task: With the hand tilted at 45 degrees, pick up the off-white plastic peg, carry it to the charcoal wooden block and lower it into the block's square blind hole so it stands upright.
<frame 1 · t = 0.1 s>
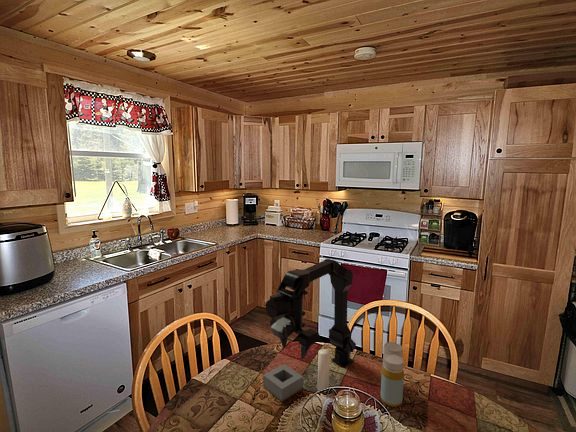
hand: (293, 352, 108), 15 cm above the table, tool pointing down, fingers open, 9 cm apart
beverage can: (390, 386, 115), on the table
hole block: (282, 387, 113), on the table
peg: (322, 389, 112), on the table
bottle: (391, 401, 107), on the table
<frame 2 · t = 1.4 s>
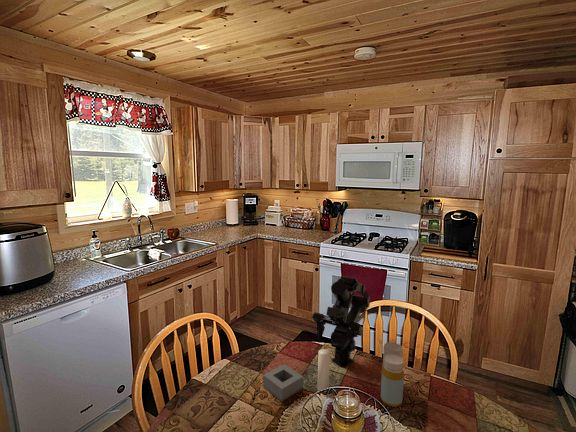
hand: (330, 346, 116), 13 cm above the table, tool tilted 45°, fingers open, 9 cm apart
nothing on the table moved.
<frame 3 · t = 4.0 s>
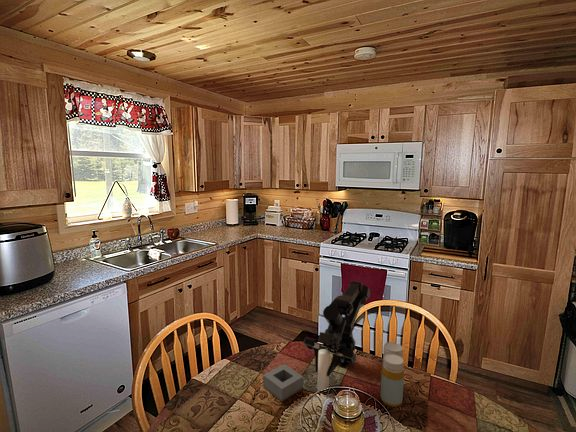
hand: (321, 374, 110), 7 cm above the table, tool tilted 45°, fingers closed on peg, 4 cm apart
peg: (322, 389, 112), on the table, touching gripper
everything else where it was.
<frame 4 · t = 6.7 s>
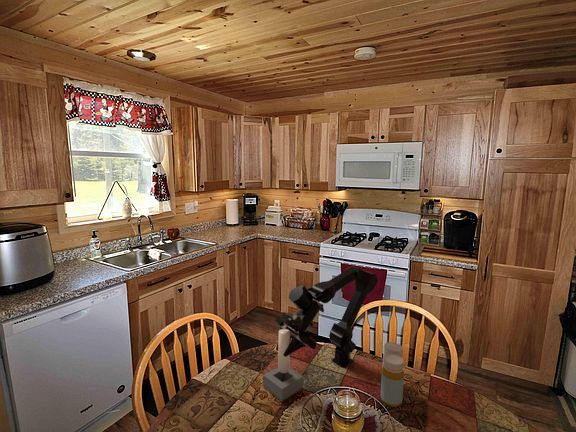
hand: (280, 353, 110), 14 cm above the table, tool tilted 45°, fingers closed on peg, 4 cm apart
peg: (283, 369, 112), point 7 cm above the table, touching gripper
everything else where it was.
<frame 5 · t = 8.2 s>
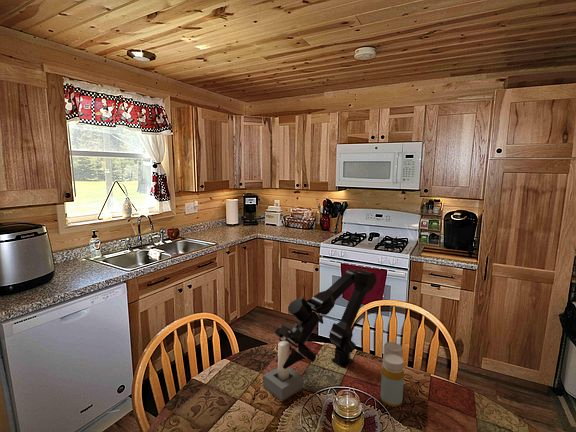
hand: (280, 365, 111), 9 cm above the table, tool tilted 45°, fingers closed on peg, 4 cm apart
peg: (283, 381, 113), point 2 cm above the table, touching gripper
everything else where it was.
when the fingers open (8 cm above the table, at t = 9.5 s): peg stays where it is, resting on hole block.
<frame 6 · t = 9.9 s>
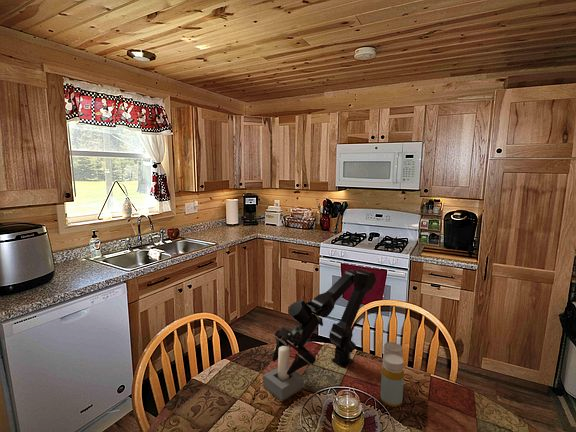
hand: (280, 367, 111), 8 cm above the table, tool tilted 45°, fingers open, 9 cm apart
peg: (283, 385, 113), point 1 cm above the table, touching hole block
everything else where it was.
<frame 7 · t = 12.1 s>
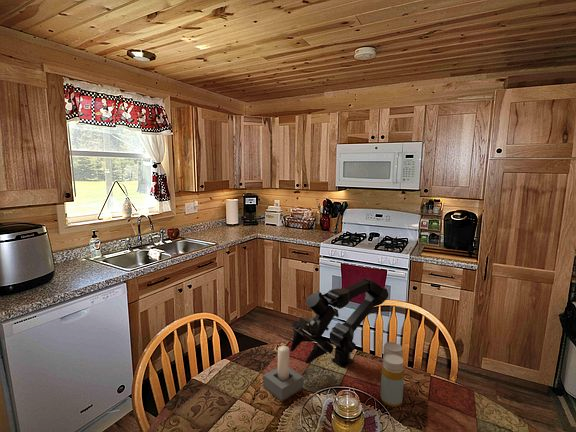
hand: (298, 356, 115), 10 cm above the table, tool tilted 45°, fingers open, 9 cm apart
nothing on the table moved.
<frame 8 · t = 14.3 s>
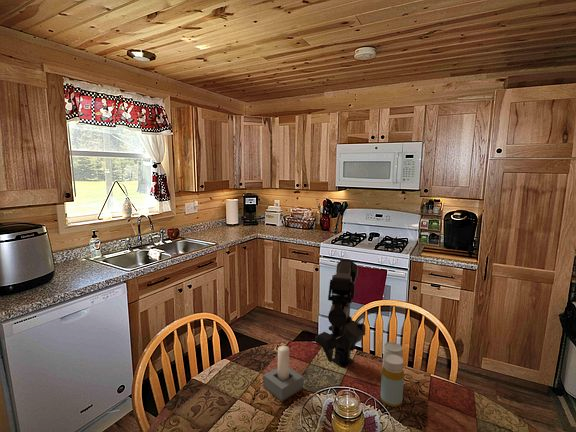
hand: (338, 356, 110), 13 cm above the table, tool pointing down, fingers open, 9 cm apart
nothing on the table moved.
at the end: peg 0.1 cm off-centre on the hole block, point 0.6 cm above the hole block's base; peg tilted 0°; the gripper is holding nothing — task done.
